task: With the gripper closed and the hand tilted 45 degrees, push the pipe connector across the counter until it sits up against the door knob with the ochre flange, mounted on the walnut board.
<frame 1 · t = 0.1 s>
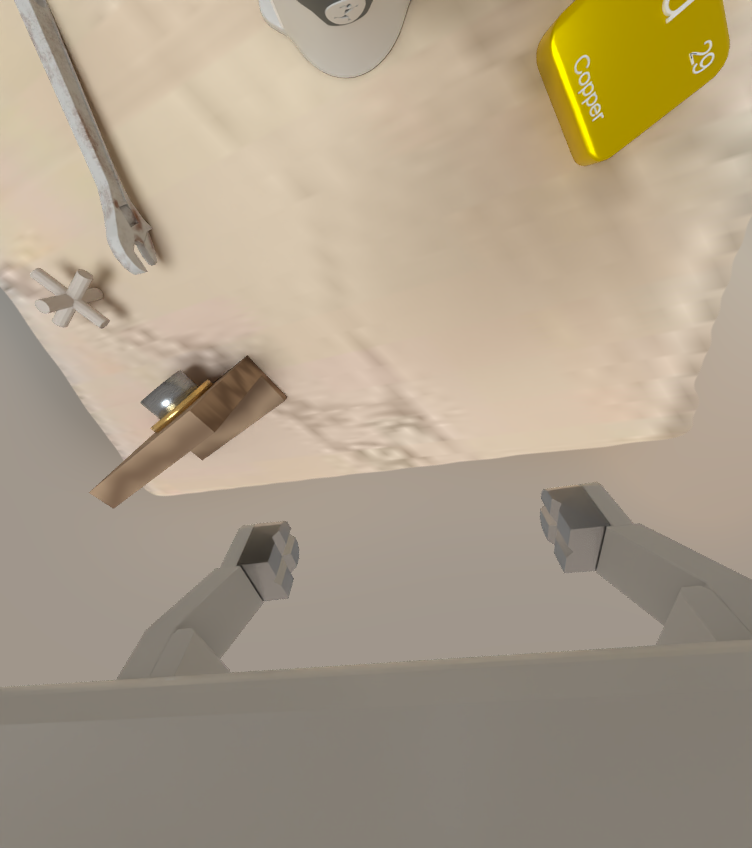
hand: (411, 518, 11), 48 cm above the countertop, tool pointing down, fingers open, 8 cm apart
element tile: (615, 63, 39), on the countertop
door knob: (203, 391, 62), on the countertop
stub board: (203, 391, 62), on the countertop
pipe connector: (98, 293, 54), on the countertop
wrench: (110, 148, 44), on the countertop
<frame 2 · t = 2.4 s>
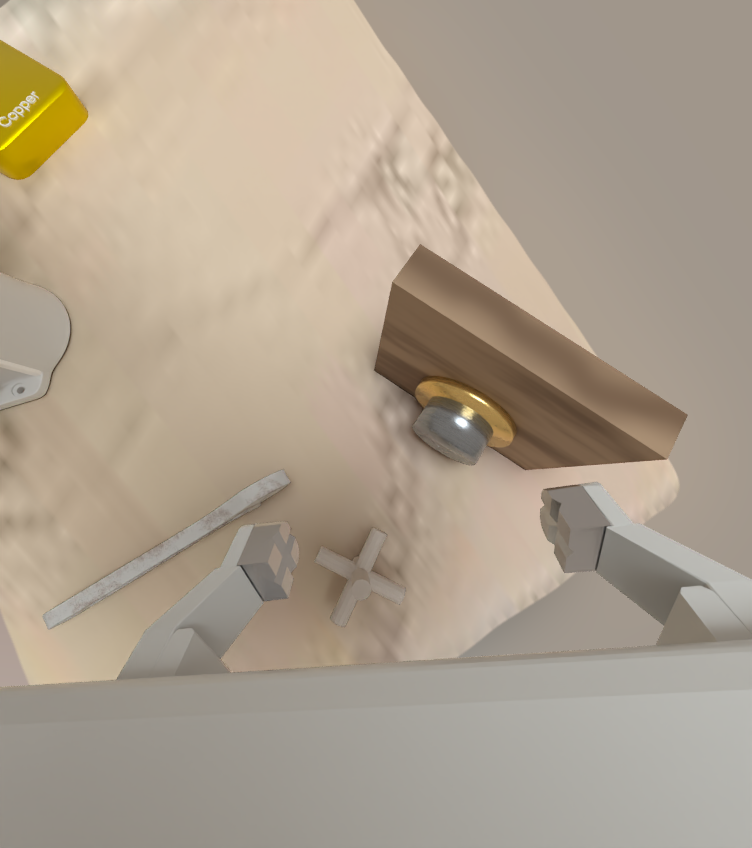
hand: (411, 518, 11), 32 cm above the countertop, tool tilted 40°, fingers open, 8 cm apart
element tile: (19, 126, 48), on the countertop
door knob: (449, 419, 44), on the countertop
stub board: (449, 419, 44), on the countertop
pipe connector: (358, 563, 40), on the countertop
wrench: (186, 542, 40), on the countertop
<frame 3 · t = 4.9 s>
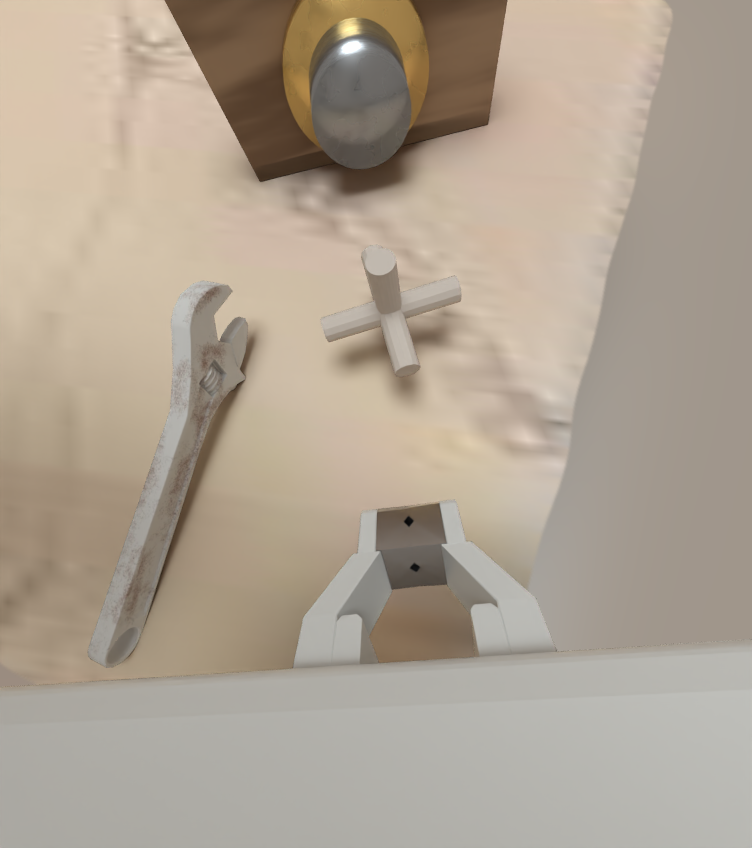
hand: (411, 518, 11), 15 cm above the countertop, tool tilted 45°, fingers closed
door knob: (369, 154, 34), on the countertop
stub board: (369, 154, 34), on the countertop
pipe connector: (396, 342, 29), on the countertop
wrench: (199, 475, 29), on the countertop
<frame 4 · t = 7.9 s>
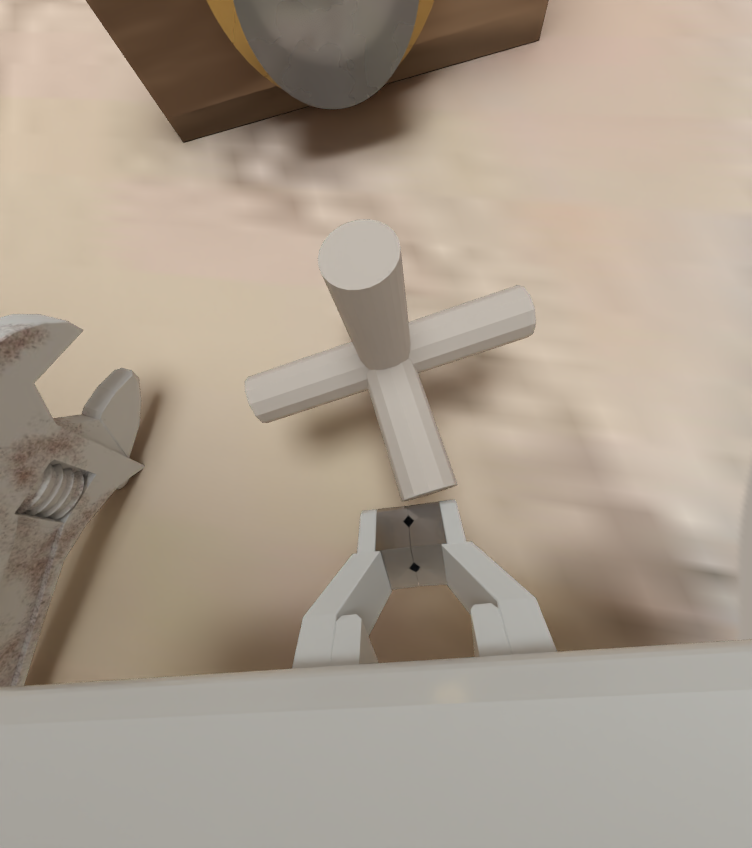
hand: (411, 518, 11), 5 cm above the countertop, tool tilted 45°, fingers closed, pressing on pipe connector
door knob: (349, 94, 22), on the countertop
stub board: (349, 94, 22), on the countertop
pipe connector: (398, 402, 17), on the countertop, touching gripper
wrench: (63, 639, 17), on the countertop
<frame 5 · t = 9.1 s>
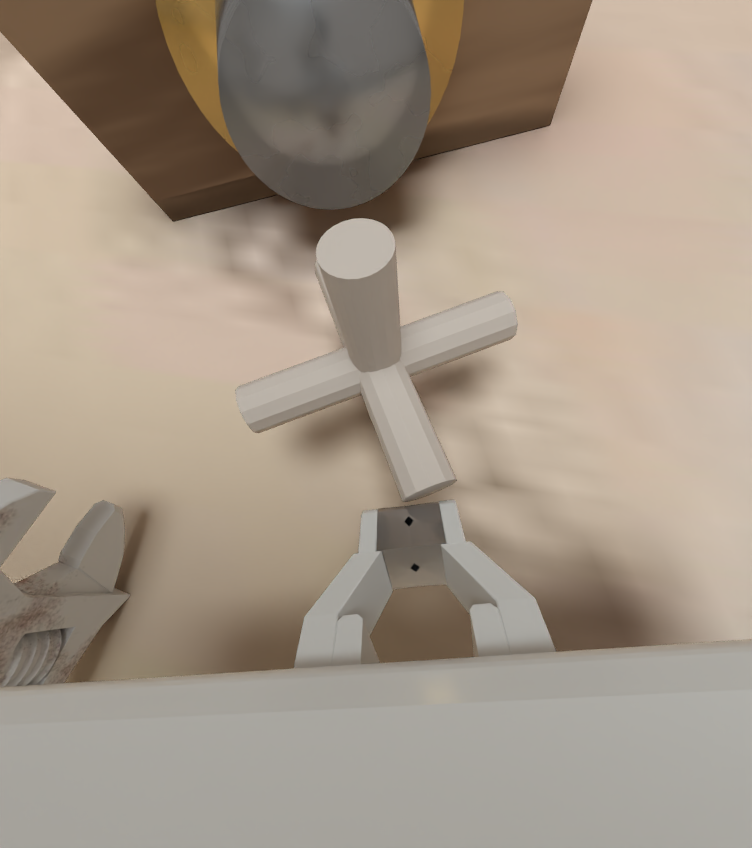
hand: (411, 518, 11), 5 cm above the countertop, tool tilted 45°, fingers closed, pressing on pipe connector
door knob: (350, 176, 21), on the countertop
stub board: (350, 176, 21), on the countertop
pipe connector: (387, 414, 17), on the countertop, touching gripper
wrench: (43, 793, 16), on the countertop
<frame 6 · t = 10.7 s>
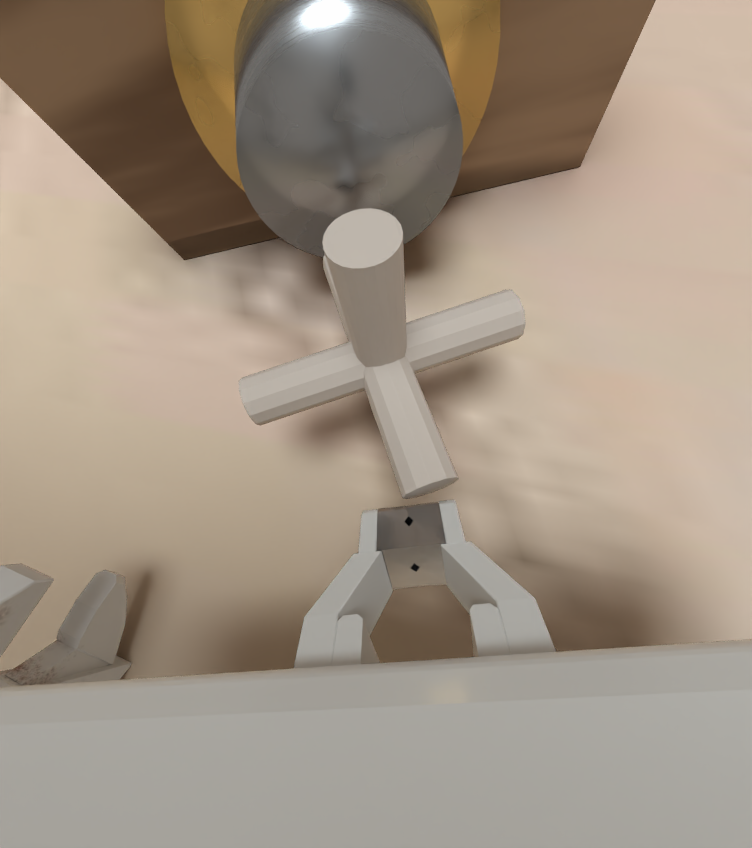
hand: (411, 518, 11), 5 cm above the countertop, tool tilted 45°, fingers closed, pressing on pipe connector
door knob: (367, 216, 20), on the countertop
stub board: (367, 216, 20), on the countertop
pipe connector: (391, 412, 17), on the countertop, touching gripper
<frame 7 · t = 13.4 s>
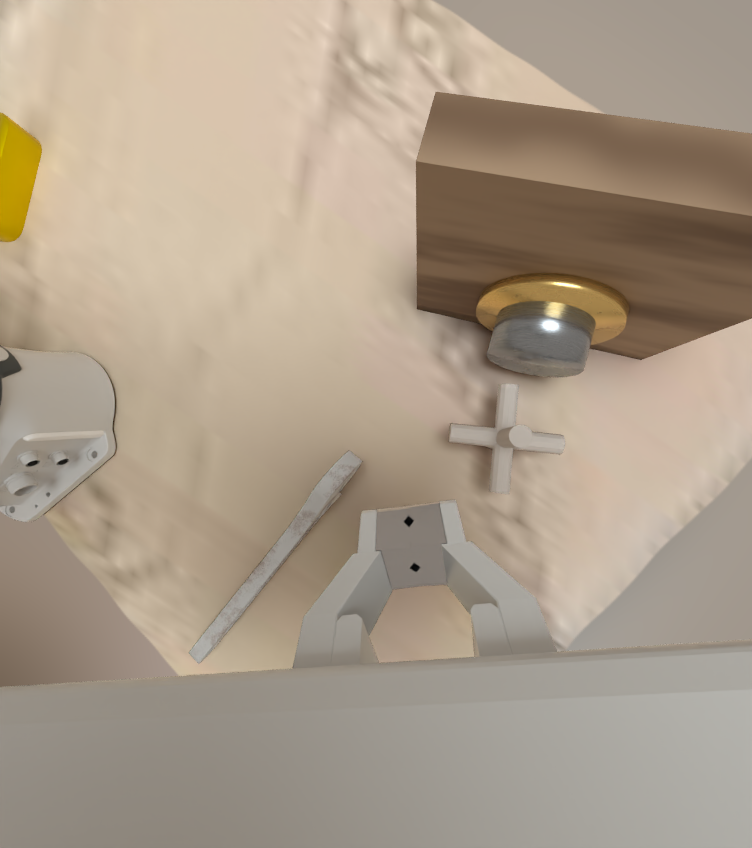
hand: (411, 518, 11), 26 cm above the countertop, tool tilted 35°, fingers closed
door knob: (524, 333, 36), on the countertop
stub board: (524, 333, 36), on the countertop
pipe connector: (491, 440, 36), on the countertop
wrench: (285, 551, 38), on the countertop
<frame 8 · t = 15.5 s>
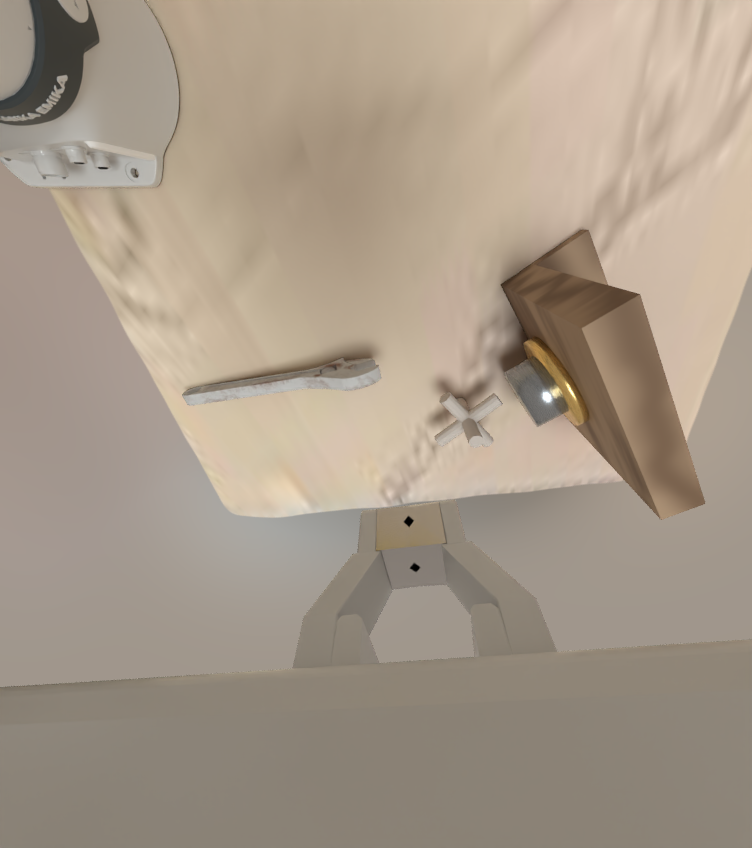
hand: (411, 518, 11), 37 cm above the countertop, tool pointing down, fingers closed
door knob: (538, 359, 46), on the countertop
stub board: (538, 359, 46), on the countertop
pipe connector: (459, 402, 50), on the countertop
wrench: (282, 374, 49), on the countertop
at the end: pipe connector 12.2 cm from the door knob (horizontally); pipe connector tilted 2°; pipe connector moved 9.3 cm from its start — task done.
